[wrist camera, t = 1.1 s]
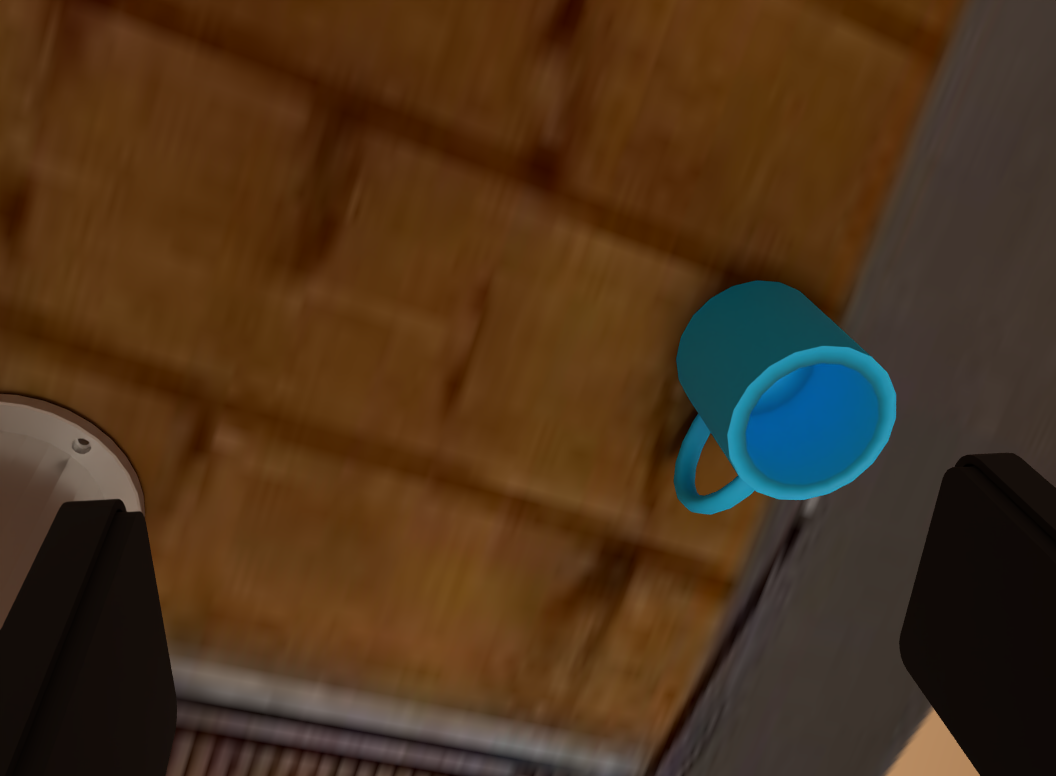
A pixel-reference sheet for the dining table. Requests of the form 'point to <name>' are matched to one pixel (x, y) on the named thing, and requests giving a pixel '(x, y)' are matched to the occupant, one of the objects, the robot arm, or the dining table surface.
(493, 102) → the dining table surface
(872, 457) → the mug
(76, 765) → the robot arm
